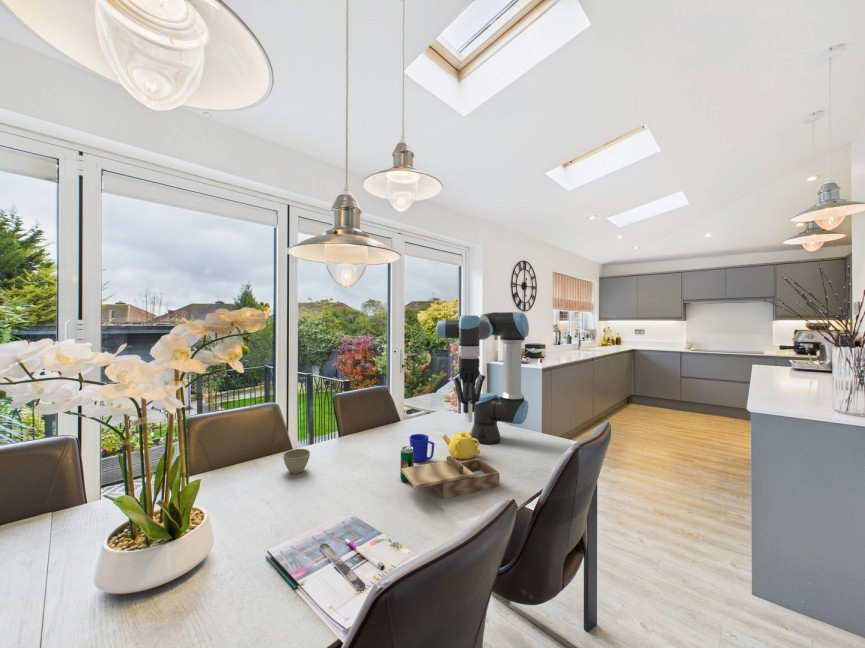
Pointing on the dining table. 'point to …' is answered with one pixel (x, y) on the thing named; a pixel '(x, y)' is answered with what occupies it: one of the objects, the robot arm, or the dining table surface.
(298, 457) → the flower pot
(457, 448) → the teapot
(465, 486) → the open wooden box
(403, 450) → the soda can
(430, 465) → the lid
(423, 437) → the mug
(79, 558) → the dining table surface
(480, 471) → the steel block
